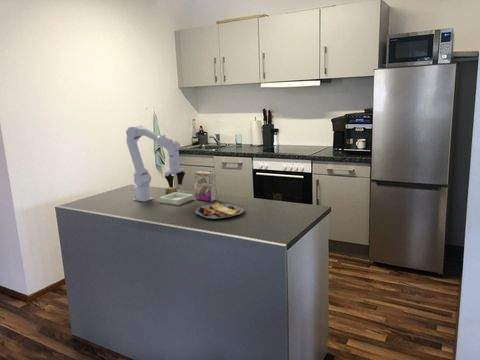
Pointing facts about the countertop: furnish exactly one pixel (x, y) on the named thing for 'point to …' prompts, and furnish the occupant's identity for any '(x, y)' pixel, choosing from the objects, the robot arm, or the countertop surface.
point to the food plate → (218, 210)
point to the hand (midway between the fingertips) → (175, 186)
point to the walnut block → (170, 190)
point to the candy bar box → (205, 186)
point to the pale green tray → (175, 198)
